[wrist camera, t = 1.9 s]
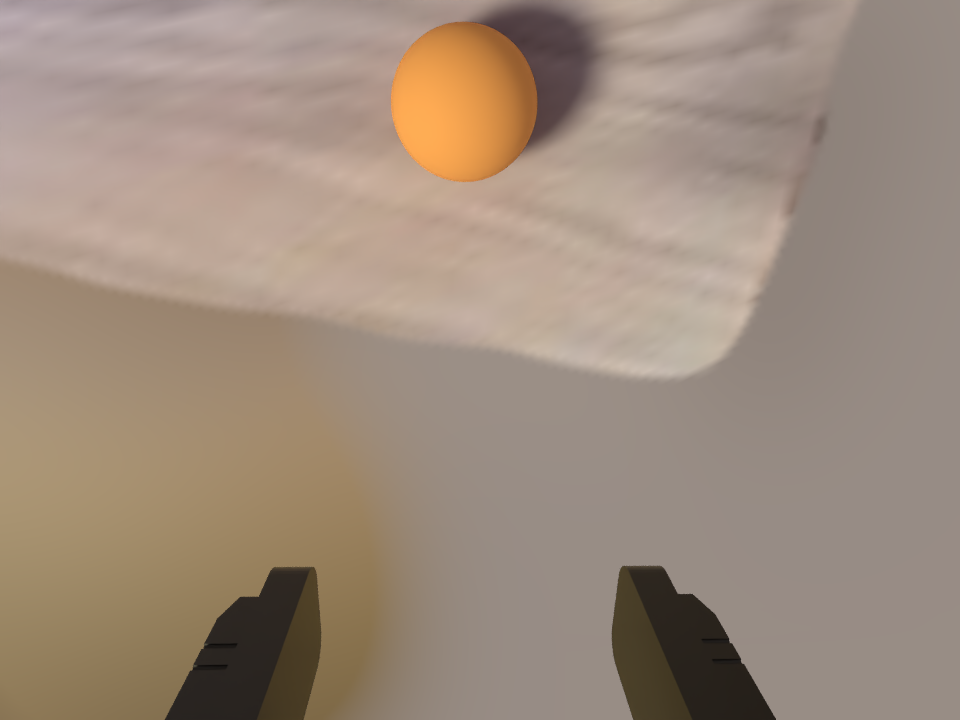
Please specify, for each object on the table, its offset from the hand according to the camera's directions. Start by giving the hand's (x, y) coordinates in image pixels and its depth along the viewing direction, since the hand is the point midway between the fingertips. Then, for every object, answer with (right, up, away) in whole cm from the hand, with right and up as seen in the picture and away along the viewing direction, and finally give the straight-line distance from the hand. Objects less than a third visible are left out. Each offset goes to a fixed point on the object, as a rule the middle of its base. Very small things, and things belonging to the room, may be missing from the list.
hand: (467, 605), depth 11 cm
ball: (0, +14, +11) cm, 18 cm away
